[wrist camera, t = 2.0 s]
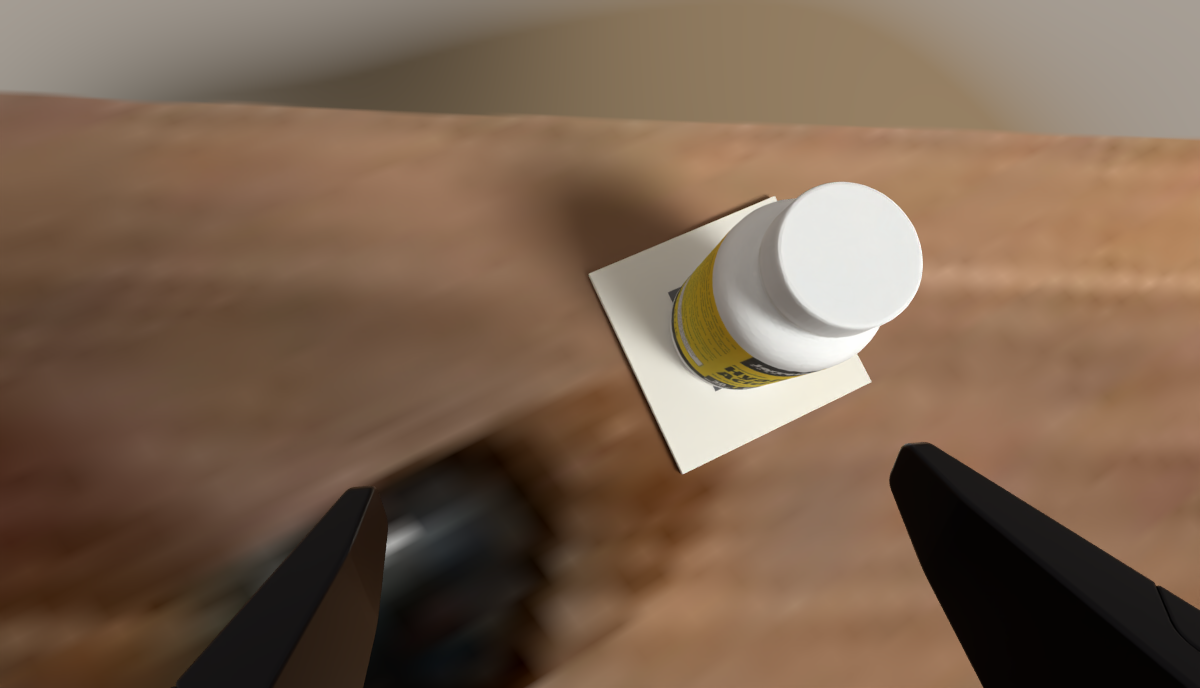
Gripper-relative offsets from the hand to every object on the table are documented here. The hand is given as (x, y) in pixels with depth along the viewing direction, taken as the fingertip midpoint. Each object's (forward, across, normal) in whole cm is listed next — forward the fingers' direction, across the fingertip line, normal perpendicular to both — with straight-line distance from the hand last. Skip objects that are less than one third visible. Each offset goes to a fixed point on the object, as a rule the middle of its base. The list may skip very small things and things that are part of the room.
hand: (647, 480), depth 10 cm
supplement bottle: (+13, -6, +6) cm, 16 cm away
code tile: (+13, -6, +6) cm, 16 cm away
